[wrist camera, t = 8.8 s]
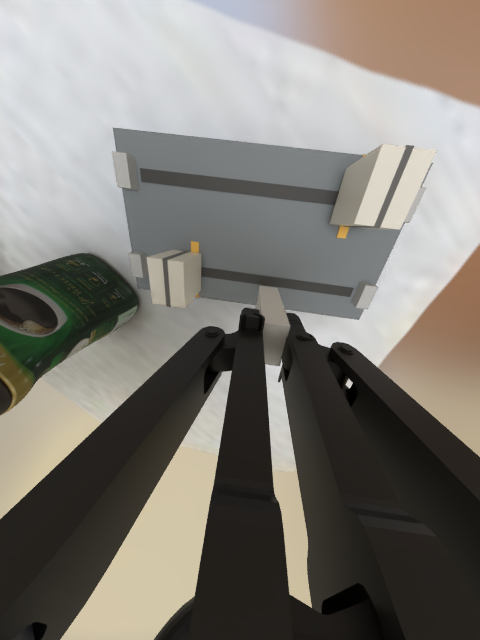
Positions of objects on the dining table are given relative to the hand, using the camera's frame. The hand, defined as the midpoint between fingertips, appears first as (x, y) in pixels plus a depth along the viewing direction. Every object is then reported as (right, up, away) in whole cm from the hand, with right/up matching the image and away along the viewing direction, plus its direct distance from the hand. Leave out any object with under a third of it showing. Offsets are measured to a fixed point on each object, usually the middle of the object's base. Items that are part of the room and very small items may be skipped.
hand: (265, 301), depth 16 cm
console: (-1, +7, +4) cm, 8 cm away
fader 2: (+8, +9, 0) cm, 11 cm away
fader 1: (-8, +4, +4) cm, 10 cm away
